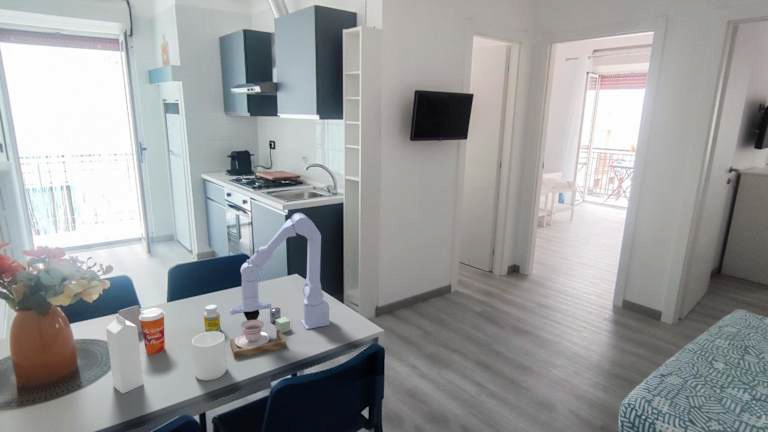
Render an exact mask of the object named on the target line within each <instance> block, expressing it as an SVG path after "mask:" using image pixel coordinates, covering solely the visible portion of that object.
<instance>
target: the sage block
mask: <svg viewBox="0 0 768 432" xmlns="http://www.w3.org/2000/svg"><path fill="white" fill-rule="evenodd" d="M275 322H276V324H275V331H276V330H280V331H281V333H282V334H283V333H285V332H288V331H291V320H290V319H289V318H288V317H286V316H282V317H281V318H279V319H276V320H275Z"/></svg>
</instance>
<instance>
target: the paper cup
mask: <svg viewBox="0 0 768 432" xmlns="http://www.w3.org/2000/svg"><path fill="white" fill-rule="evenodd" d="M140 312H141V315H140V316H139V319H140V321H141V328H142V332H141V333H142V337H143V341H144V347H145V353H146V354H148V355H157V354H160V353H162V352H163V351H165V346H166V345H165V315H166V312H165V311H164V310H163V309H162V308H160V307H159V308H158V307H154V308H153V307H152V308H148V309H145V310H143V311H140Z"/></svg>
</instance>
